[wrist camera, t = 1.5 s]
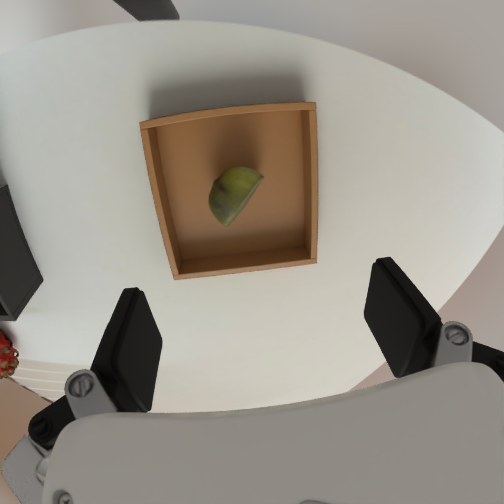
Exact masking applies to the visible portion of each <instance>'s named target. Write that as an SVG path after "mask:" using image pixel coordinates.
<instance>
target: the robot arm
mask: <svg viewBox="0 0 504 504" xmlns="http://www.w3.org/2000/svg"><path fill="white" fill-rule="evenodd" d="M364 318H365V320H366V322H367V324H368V326H369V328H370V330H371V332H372V333H373V335H374V337H375V339H376V341H377V343H378V345H379V347H380V349H381V351H382V353H383V355H384V357H385V359H386V361H387V363H388V365H389V367H390V369H391V371H392V373H393V375H394V376H395V377H396V378H397V377H398V379H394V380H391V381H388V382H384V383H381V384H377V385H374V386H370V387H367V388H363V389H359V390H355V391H351V392H346V393H342V394H338V395H333V396H328V397H323V398H318V399H313V400H308V401H302V402H296V403H290V404H284V405H277V406H269V407H261V408H252V409H242V410H231V411H216V412H193V413H147V411H150V410H151V407H152V401H153V395H154V389H155V383H156V377H157V371H158V365H159V360H160V355H161V349H162V337H161V335H160V332H159V330H158V327H157V325H156V322H155V320H154V317H153V315H152V312H151V310H150V307H149V305H148V302H147V299H146V297H145V294H144V292H143V291H140V290H139V288H137V287H135V288H125V289H124V290H123V292H122V294H121V296H120V298H119V300H118V303H117V305H116V307H115V310H114V312H113V314H112V317H111V319H110V321H109V323H108V325H107V327H106V329H105V332H104V334H103V337H102V339H101V342H100V344H99V347H98V350H97V352H96V355H95V357H94V360H93V363H92V366H91V368H90V370H87V369H83V370H79V371H76V372H74V373H73V374H72V375H70V377H69V378H68V379H67V381H66V383H65V388H64V390H65V394H66V395H64V396H63V397H61V398H60V399H58V400H57V401H55V402H54V403H52V404H51V405H49V406H48V407H46V408H45V409H43V410H42V411H40V412H39V413H37V414H36V415H35V416H34V417H33V418H32V419H31V421H30V423H29V427H28V432H29V435H28V436H26V435H24V436H23V437H22V438H21V440H20V441H19V442H18V443H17V444H16V445H15V447H14V448H13V449H12V450H11V452H10V453H9V454H8V455H7V456H6V458H5V459H4V460H3V462H2V464H1V474H2V476H3V478H4V480H5V481H6V483H7V484H8V486H9V487H10V489H11V490H12V492H13V493H14V494H15V496H16V497H17V499H18V500H19V501H20V502H21V504H504V352H502V351H500V350H497V349H494V348H491V347H488V346H485V345H483V344H480V343H477V342H474V341H473V337H472V333H471V331H470V330H469V329H468V328H467V327H466V326H465V325H464V324H462V323H460V322H456V321H450V322H447V323H445V324H444V325H443V324H442V322H441V318H440V317H439V315H438V314H437V313H436V311H435V310H434V309H433V307H432V306H431V305H430V304H429V302H428V301H427V300H426V298H425V297H424V296H423V295H422V293H421V292H420V291H419V290H418V289H417V287H416V286H415V285H414V284H413V283H412V281H411V280H410V279H409V278H408V277H407V275H406V274H405V273H404V272H403V271H402V270H401V268H400V267H399V266H398V265H397V264H396V263H395V261H394V260H393V259H392V258H391V257H385V258H378V259H377V260H376V262H375V263H373V265H372V270H371V276H370V282H369V288H368V293H367V298H366V304H365V309H364Z"/></svg>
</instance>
